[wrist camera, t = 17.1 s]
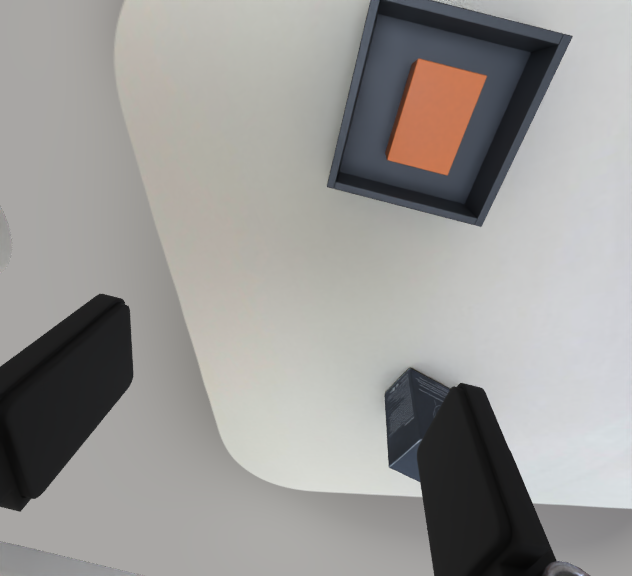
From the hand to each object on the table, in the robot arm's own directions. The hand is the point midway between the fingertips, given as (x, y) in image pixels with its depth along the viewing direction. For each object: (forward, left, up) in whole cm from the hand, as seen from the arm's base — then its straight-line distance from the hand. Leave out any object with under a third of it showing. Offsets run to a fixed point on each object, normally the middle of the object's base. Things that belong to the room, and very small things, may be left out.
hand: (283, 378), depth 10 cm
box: (+16, -23, -27) cm, 39 cm away
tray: (+5, +7, -27) cm, 29 cm away
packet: (+5, +7, -27) cm, 28 cm away
